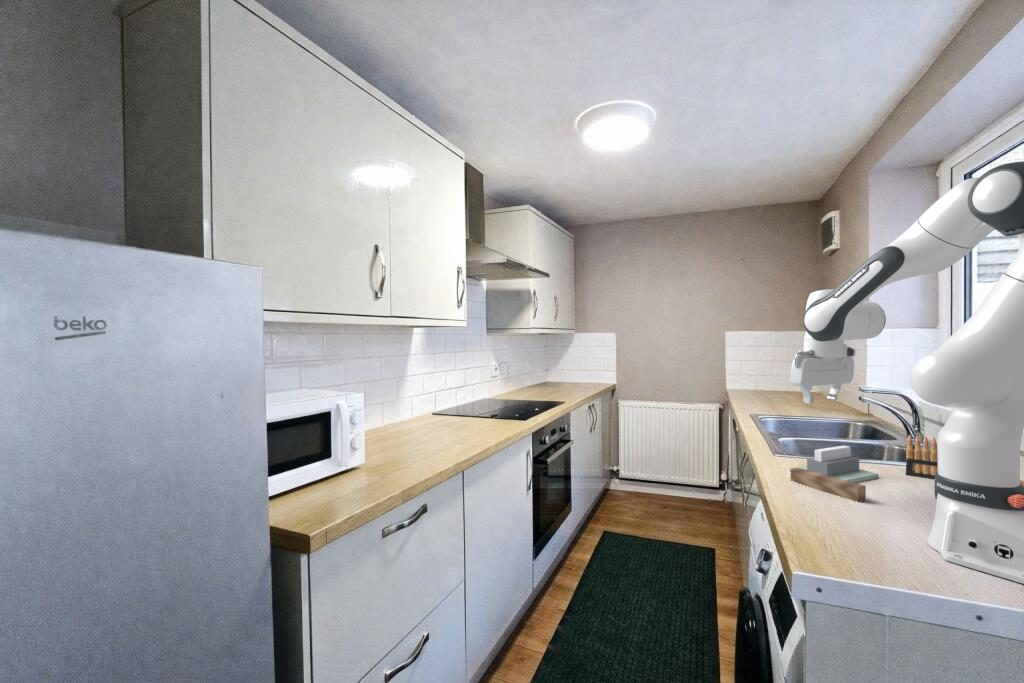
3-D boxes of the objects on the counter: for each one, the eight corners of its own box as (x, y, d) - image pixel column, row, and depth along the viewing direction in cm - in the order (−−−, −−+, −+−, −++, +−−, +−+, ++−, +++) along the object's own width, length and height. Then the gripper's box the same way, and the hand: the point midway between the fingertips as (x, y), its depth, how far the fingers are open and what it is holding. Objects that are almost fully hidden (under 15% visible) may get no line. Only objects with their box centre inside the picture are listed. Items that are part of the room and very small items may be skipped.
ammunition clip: (905, 475, 135) (905, 434, 135) (906, 473, 137) (905, 433, 136) (956, 482, 128) (955, 440, 128) (956, 481, 129) (955, 438, 129)
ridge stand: (878, 477, 133) (878, 450, 133) (836, 486, 126) (836, 457, 126) (829, 465, 146) (829, 440, 146) (789, 472, 139) (789, 446, 139)
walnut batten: (865, 501, 116) (865, 485, 115) (858, 503, 114) (857, 487, 114) (797, 481, 132) (797, 467, 132) (790, 482, 131) (790, 468, 131)
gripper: (807, 351, 115) (805, 406, 116) (860, 350, 122) (857, 401, 123) (784, 350, 121) (782, 401, 122) (836, 348, 128) (833, 397, 129)
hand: (820, 401), depth 123 cm, fingers open, 8 cm apart
